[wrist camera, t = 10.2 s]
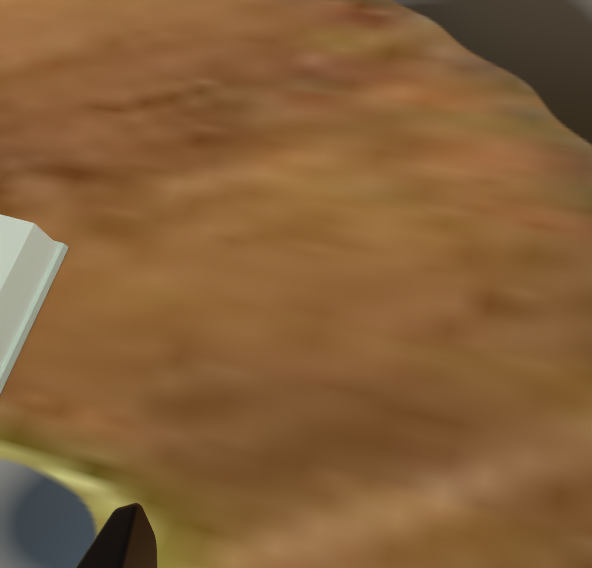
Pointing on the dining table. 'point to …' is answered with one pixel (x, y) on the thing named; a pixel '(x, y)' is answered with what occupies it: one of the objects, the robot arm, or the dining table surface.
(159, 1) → the dining table surface
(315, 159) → the dining table surface
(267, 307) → the dining table surface
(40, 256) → the pedestal block
